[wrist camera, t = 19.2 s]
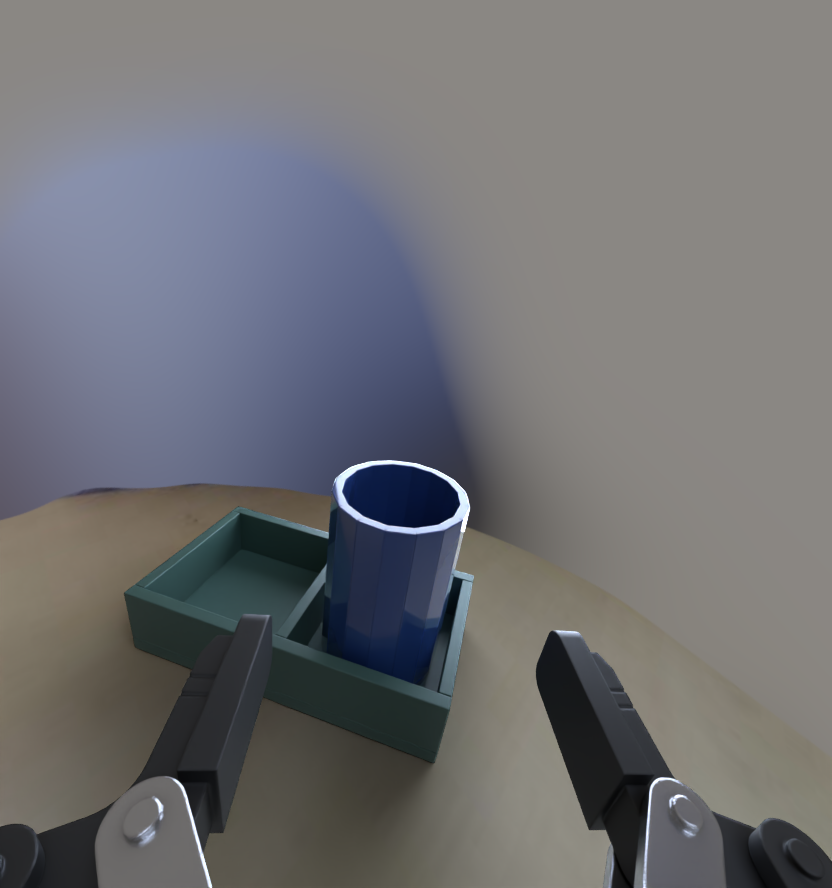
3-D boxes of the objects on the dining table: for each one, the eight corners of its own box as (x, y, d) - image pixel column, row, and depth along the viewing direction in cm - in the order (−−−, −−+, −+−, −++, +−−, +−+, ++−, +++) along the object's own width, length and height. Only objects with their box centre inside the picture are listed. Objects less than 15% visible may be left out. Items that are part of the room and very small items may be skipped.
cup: (429, 608, 25) (459, 468, 21) (436, 707, 19) (479, 541, 15) (332, 599, 24) (344, 454, 20) (310, 697, 19) (319, 524, 15)
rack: (434, 764, 18) (449, 710, 16) (134, 647, 20) (122, 592, 19) (462, 621, 25) (474, 575, 24) (240, 550, 28) (238, 505, 26)
